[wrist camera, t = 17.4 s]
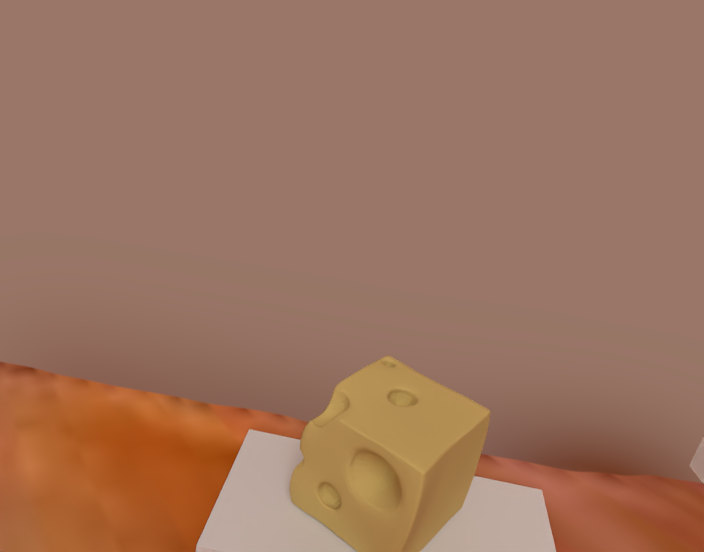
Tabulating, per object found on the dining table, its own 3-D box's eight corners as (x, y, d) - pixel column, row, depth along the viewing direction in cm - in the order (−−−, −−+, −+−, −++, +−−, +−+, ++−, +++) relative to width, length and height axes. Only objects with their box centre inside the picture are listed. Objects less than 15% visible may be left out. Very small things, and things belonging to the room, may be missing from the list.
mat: (195, 554, 41) (196, 545, 41) (248, 436, 53) (249, 429, 53) (570, 636, 40) (574, 628, 40) (539, 496, 52) (541, 489, 52)
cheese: (285, 503, 46) (301, 395, 42) (370, 442, 54) (390, 347, 50) (394, 590, 40) (424, 476, 36) (471, 508, 48) (502, 407, 44)
